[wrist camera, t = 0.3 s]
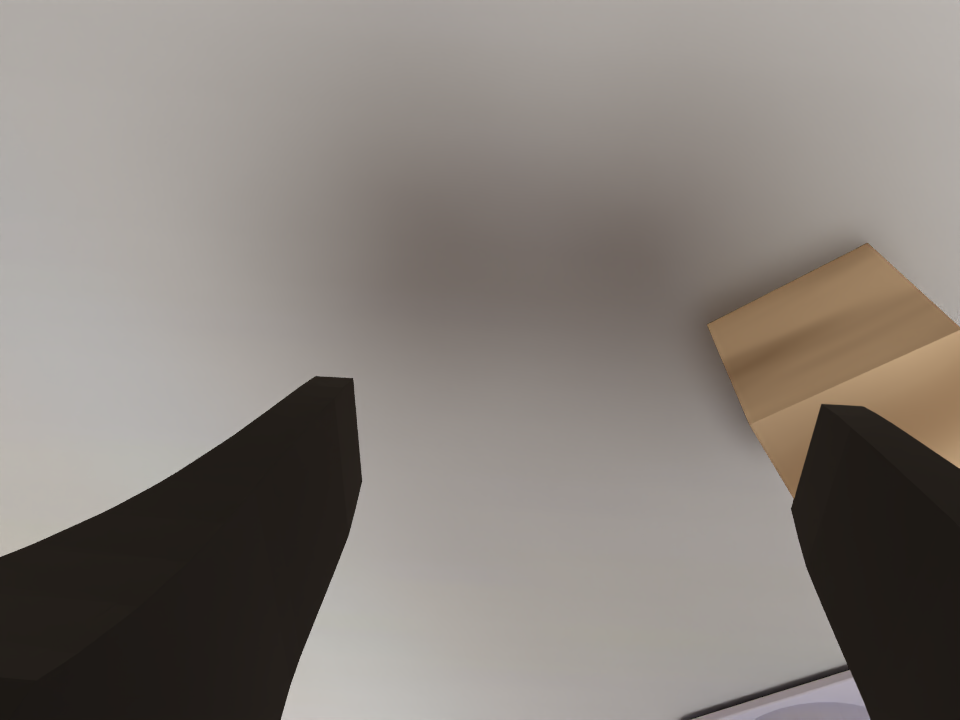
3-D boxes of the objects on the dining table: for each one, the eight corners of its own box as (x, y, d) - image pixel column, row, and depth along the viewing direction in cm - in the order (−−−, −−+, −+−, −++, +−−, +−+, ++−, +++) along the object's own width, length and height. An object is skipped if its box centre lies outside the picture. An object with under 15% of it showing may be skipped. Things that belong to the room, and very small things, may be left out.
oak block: (924, 369, 20) (1025, 480, 16) (772, 435, 22) (827, 555, 18) (866, 242, 19) (961, 329, 14) (706, 323, 20) (749, 424, 16)
